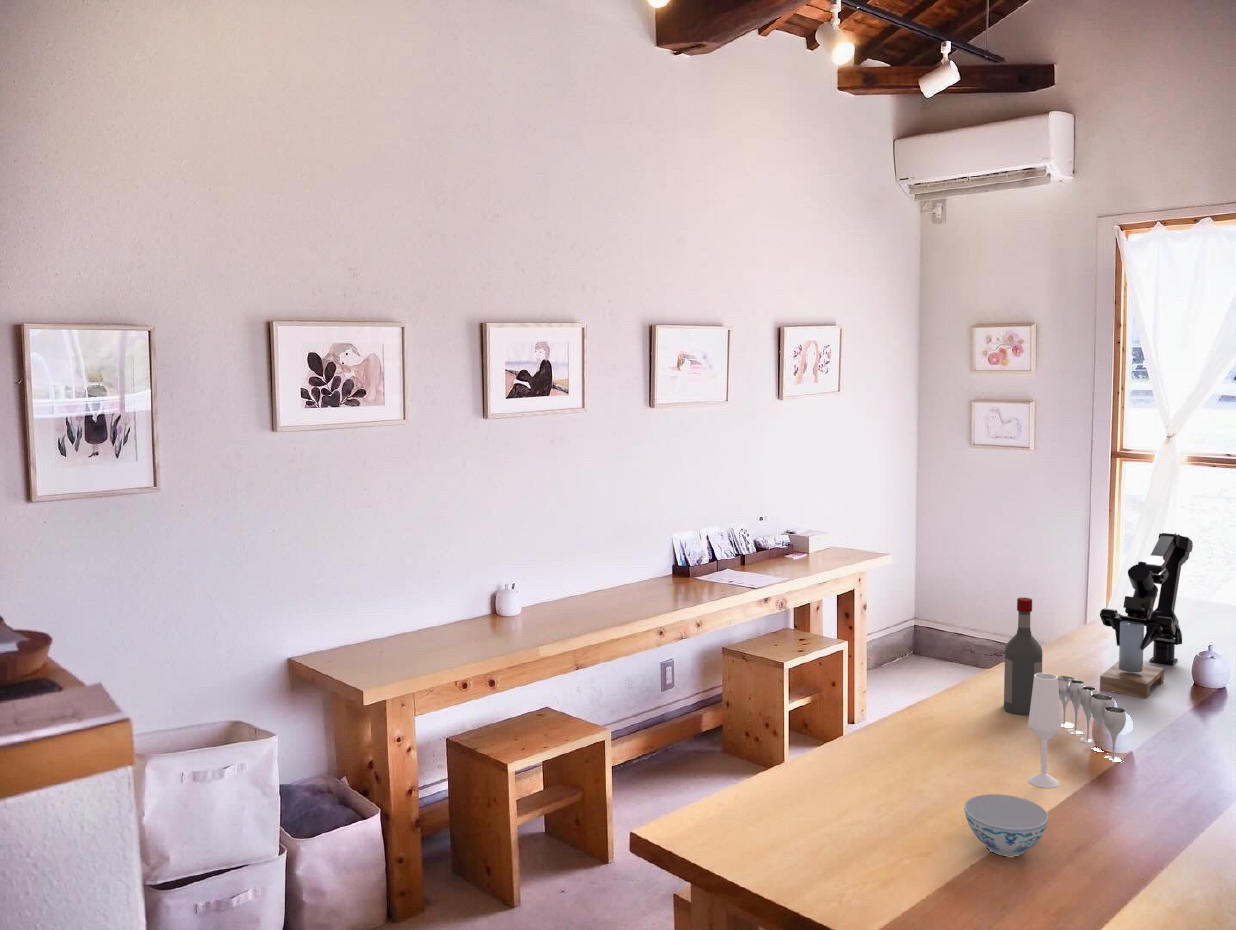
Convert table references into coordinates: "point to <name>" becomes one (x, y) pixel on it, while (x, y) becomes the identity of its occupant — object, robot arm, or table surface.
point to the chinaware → (1006, 822)
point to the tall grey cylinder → (1131, 646)
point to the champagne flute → (1044, 721)
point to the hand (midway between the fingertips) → (1129, 647)
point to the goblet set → (1091, 709)
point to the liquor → (1021, 663)
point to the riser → (1131, 680)
